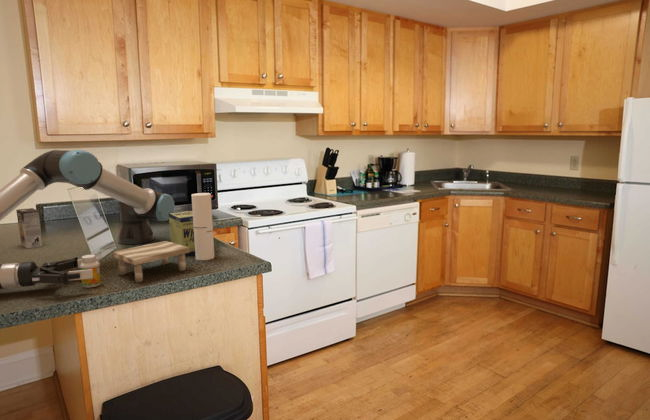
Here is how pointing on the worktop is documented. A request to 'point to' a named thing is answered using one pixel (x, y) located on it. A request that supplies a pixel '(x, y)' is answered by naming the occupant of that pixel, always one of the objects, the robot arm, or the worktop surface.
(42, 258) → the worktop surface
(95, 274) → the supplement bottle
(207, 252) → the cylindrical container
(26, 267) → the robot arm
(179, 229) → the protein box
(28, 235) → the coffee box
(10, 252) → the worktop surface
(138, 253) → the light wood low table
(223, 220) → the worktop surface
